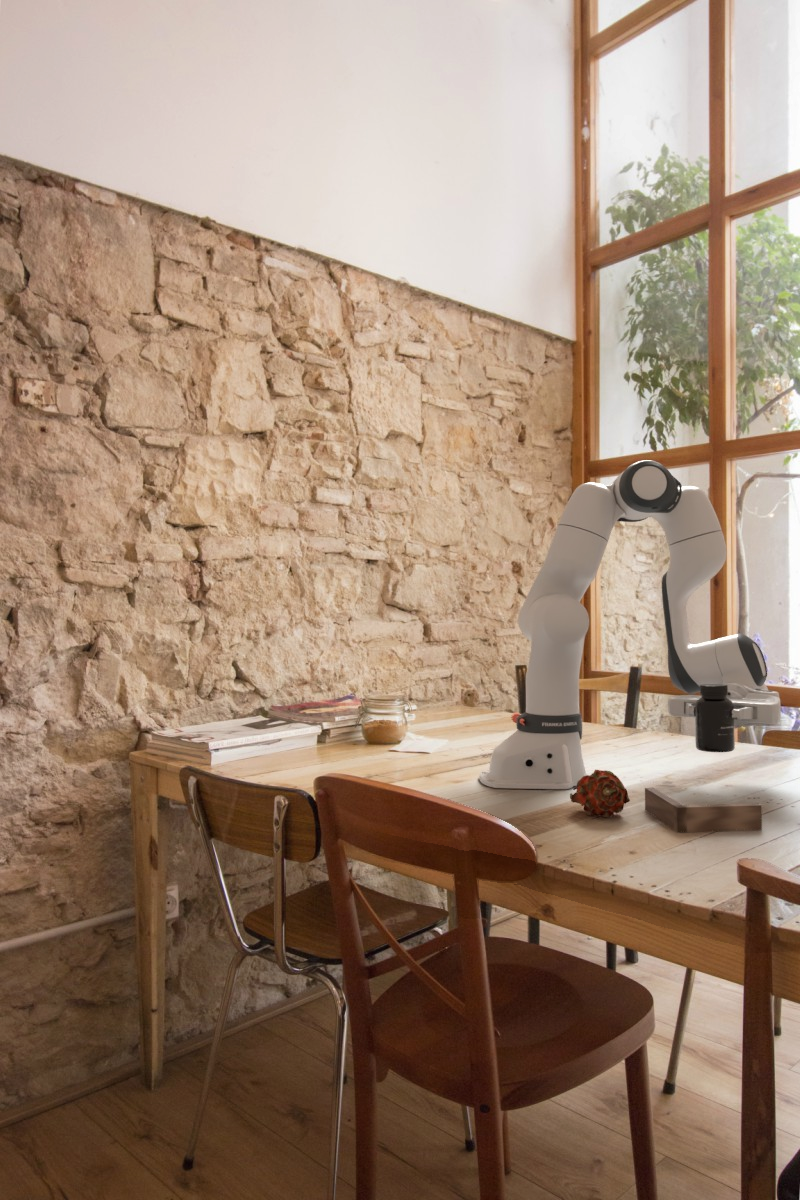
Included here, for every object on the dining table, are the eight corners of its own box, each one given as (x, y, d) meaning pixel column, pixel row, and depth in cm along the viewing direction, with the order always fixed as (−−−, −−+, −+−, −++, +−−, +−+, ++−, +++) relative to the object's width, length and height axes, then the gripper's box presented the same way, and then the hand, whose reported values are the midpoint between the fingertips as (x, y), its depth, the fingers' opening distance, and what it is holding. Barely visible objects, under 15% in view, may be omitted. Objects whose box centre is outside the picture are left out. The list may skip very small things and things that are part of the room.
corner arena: (677, 832, 138) (677, 807, 138) (645, 810, 153) (644, 787, 153) (761, 830, 139) (761, 805, 139) (721, 808, 154) (721, 785, 154)
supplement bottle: (731, 754, 153) (729, 686, 153) (692, 751, 157) (689, 686, 157) (738, 748, 159) (736, 683, 159) (700, 746, 163) (698, 682, 163)
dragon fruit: (621, 833, 144) (579, 827, 155) (650, 798, 148) (607, 795, 158) (592, 794, 143) (552, 791, 154) (622, 760, 147) (581, 759, 157)
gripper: (679, 686, 174) (656, 692, 163) (787, 692, 163) (771, 699, 151) (679, 717, 174) (656, 725, 163) (787, 725, 163) (771, 735, 151)
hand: (712, 713), depth 157 cm, fingers closed on supplement bottle, 7 cm apart
